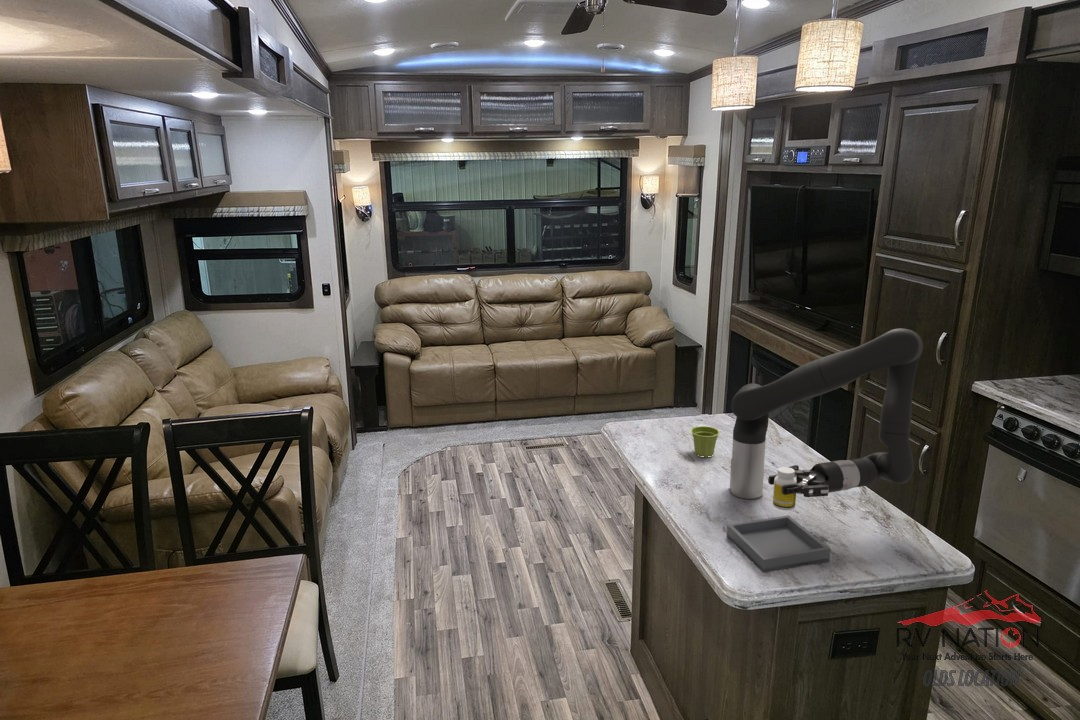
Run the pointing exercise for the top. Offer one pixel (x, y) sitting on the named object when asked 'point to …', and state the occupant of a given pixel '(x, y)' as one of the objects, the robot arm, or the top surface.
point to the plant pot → (704, 440)
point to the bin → (777, 543)
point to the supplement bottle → (782, 479)
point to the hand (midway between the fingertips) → (776, 485)
